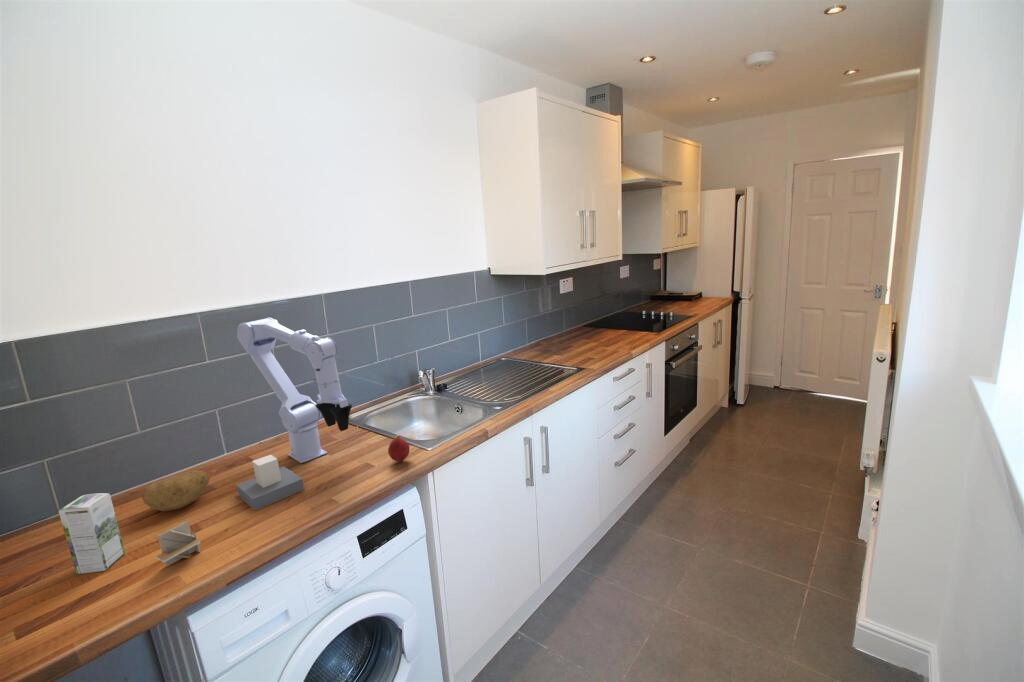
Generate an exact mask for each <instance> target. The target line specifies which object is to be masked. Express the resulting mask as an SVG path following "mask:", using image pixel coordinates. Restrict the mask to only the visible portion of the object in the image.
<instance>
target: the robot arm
mask: <svg viewBox="0 0 1024 682" xmlns="http://www.w3.org/2000/svg"><path fill="white" fill-rule="evenodd" d="M236 333H237V334H236V336H237V340H238V341H239V343H240V344H241V346H242V347H243V349H244V350H245V352H246V353H247V354H248V355H249V356H250V358H251V359H252V361H253V362H254V364H255V366H256V367H257V368H258V370H259V371H260V373H261V374H262V376H263V377H264V378H265V380H266V382H267V383H268V385H269V386H270V387H271V389H272V391H273V392H274V393H275V395H276V396H277V398H278V399H279V401H280V402H281V406H280V408H279V411H278V415H279V417H280V419H281V423H282V425H283V428H285V430H287V431H288V440H289V444H290V445H289V446H290V452H289V453H288V456H289V457H290V458H292V459H294V460H295V461H296V462H299V463H300V464H302V463H307V462H308V461H311V460H314V459H316V458H318V457H321V456H324V455H327V453H328V452H327V451H326V450H324V449H322V447H321V446H322V445H321V441H320V435H319V429H318V425H319V423H320V422H319V420H320V419H321V418H323V419H324V422H325V423H326V425H327V427H332V426H334V425H336V424H337V427H338V429H339V431H340V432H343V431H346V430H348V429H349V419H350V414H351V410H352V408H353V405H352V403H349V402H348V398H346V397H345V396H344V394H343V392H342V388H341V383H340V378H339V377H340V376H339V372H338V367H337V361H336V358H335V357H336V356H337V355H338V353H339V352H338V351H339V348H338V344H337V343H336V341H335V340H334V339H333V338H331V337H330V336H326V337H323V338H321V337H319V336H318V335H313V334H311V333H308V332H307V330H306V329H301V330H296V331H294V330H292V329H290V328H288V327H286V326H284V325H282V324H280V323H279V321H278V320H277V319H275V318H272V317H265V318H262V319H257V320H253V321H249V322H241V323H239V325H237V331H236ZM277 340H279V341H281V342H284V343H286V344H288V345H289V347H290V349H292V350H294V351H296V352H298V353H301V354H303V355H305V356H306V357H307V359H308V360H309V361H310V364H311V367H312V368H313V369H314V373H315V374H314V375H315V378H316V382H317V387H318V392H319V393H318V394H317V395H316V396H317V400H316V402H317V403H316V402H315V401H313V400H312V398H311V397H310V396H308V395H304V394H301V393H300V392H299V391H298V390H297V388H296V387H295V385H294V384H293V382H292V381H291V379H290V377H289V376H288V375H287V373H286V372H285V370H284V369H283V367H282V366H281V364H280V363H279V362H278V360H277V359H276V357H275V355H274V354H273V353H272V349H273V348H274V347H275V345H276V342H277Z"/></svg>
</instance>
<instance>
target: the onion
mask: <svg viewBox="0 0 1024 682" xmlns="http://www.w3.org/2000/svg"><path fill="white" fill-rule="evenodd" d="M387 451H388V452H387V453H388V456H389V457H390V458H391V460H393V461H394V462H397V463H403V461H404V460H405V459H406V458H407V457H408V456H409V455H410V445H409V443H408V442H407V441H406V440H405V439H403V438H401V436H400V435H399V434H397V435H395V438H394V439H393V440H392V441H391V442H389V445H388V448H387Z"/></svg>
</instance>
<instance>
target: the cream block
mask: <svg viewBox="0 0 1024 682" xmlns="http://www.w3.org/2000/svg"><path fill="white" fill-rule="evenodd" d="M251 461H252V467H253V471H254V476H255V477H256V481H257V483H258V484H259V485H260V486H262V487H263V488H264V487H267V486H269V485H272V484H274V483H277V482H279V481H282V480H281V475H280V470H279V468H280V467H279V459H278V458H277V457H275V456H274V455H272V454H269V455H266V456H263V457H260V458H257V459H254V460H251Z"/></svg>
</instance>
